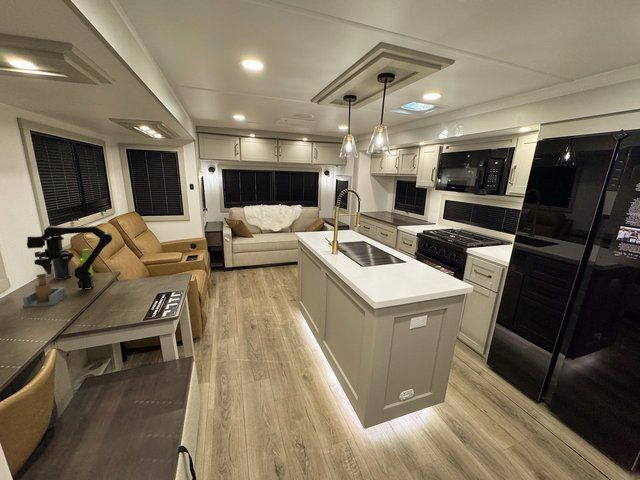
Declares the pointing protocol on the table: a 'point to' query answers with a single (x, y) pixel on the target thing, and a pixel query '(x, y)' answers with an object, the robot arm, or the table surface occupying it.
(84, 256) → the soap dispenser
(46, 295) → the amber bottle
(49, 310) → the table surface
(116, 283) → the table surface
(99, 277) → the table surface
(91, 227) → the robot arm
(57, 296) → the u rest
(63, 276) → the bottle
